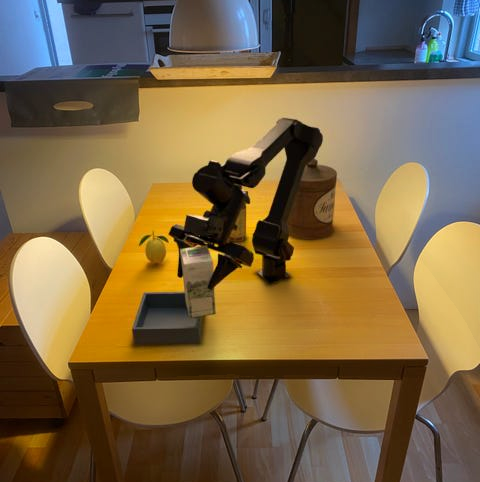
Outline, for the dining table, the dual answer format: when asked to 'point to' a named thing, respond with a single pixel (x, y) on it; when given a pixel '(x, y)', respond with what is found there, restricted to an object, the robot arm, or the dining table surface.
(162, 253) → the lemon
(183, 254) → the syrup box
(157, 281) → the dining table surface
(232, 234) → the sauce bottle
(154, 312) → the bin
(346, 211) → the dining table surface
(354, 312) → the dining table surface
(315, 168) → the wooden container
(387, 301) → the dining table surface
